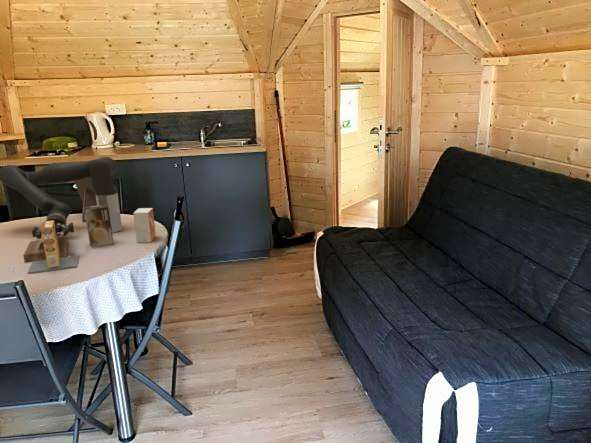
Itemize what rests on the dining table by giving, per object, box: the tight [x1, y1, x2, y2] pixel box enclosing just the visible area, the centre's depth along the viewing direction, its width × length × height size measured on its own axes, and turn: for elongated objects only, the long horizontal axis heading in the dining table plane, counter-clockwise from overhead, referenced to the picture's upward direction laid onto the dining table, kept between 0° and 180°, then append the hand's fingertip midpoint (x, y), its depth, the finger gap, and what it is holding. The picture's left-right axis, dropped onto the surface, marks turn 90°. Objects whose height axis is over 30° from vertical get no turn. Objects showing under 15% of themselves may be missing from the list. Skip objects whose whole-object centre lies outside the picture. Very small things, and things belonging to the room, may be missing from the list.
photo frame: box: [73, 177, 97, 223], centre depth 239 cm, size 15×22×25 cm
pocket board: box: [23, 236, 70, 263], centre depth 191 cm, size 14×18×3 cm
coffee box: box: [84, 204, 115, 248], centre depth 198 cm, size 9×6×16 cm
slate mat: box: [27, 255, 80, 275], centre depth 177 cm, size 16×12×1 cm
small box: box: [132, 207, 157, 243], centre depth 203 cm, size 8×6×13 cm
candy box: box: [40, 220, 61, 268], centre depth 175 cm, size 9×4×15 cm, turn 24°
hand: (51, 235), depth 177 cm, fingers open, 8 cm apart
